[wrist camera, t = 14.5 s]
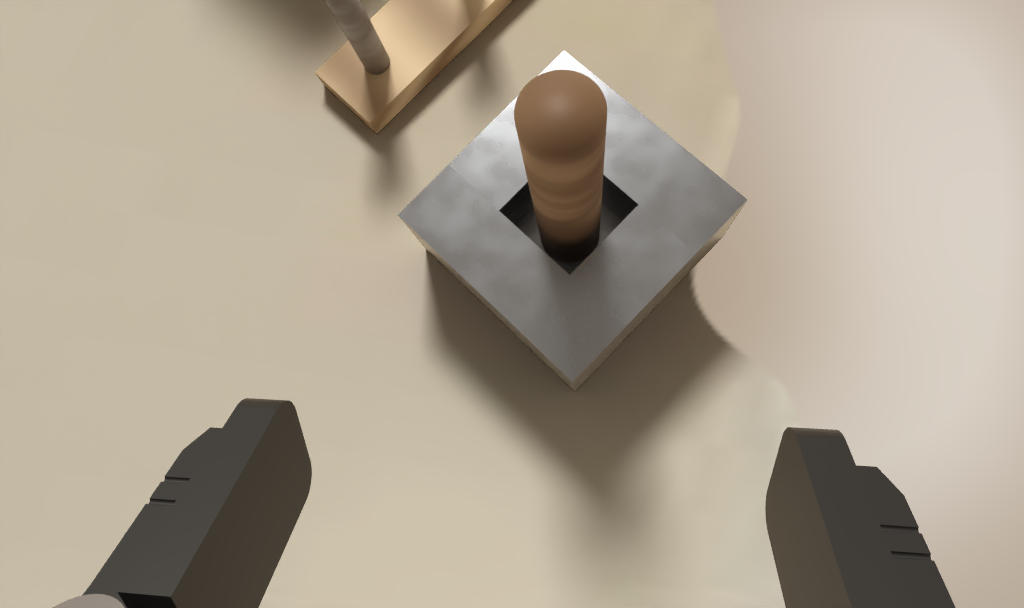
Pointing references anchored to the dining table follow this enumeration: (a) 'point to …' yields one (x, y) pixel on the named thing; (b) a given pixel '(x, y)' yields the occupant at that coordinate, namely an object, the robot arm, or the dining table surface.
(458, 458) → the dining table surface
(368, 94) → the peg rack
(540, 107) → the walnut pin
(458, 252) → the block
